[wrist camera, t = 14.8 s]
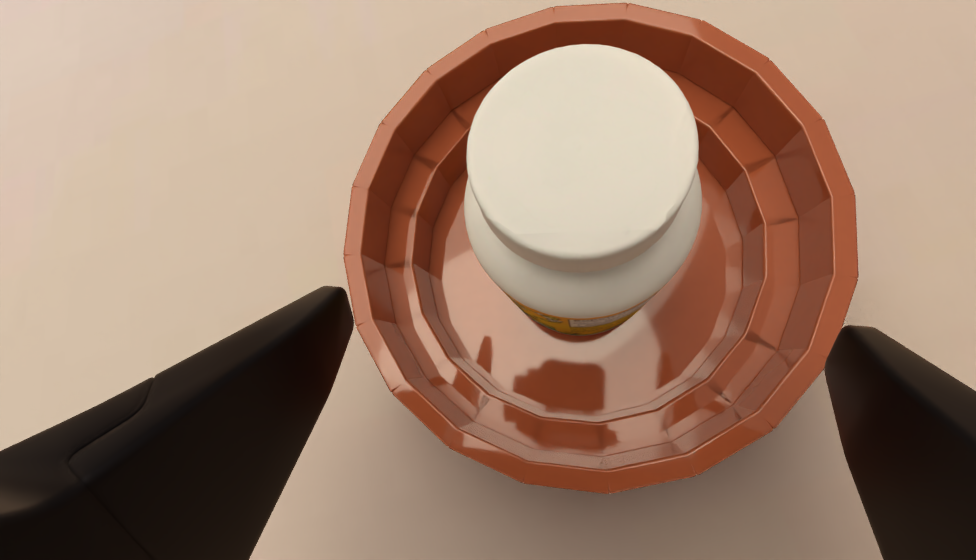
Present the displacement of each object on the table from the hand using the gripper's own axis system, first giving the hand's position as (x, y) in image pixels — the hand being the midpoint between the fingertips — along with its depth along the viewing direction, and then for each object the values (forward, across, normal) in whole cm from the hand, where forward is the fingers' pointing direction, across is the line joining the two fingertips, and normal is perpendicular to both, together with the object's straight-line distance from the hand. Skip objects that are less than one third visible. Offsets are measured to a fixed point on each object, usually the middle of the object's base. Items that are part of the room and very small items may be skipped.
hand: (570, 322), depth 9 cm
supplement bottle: (+8, 0, +4) cm, 9 cm away
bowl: (+9, 0, +4) cm, 10 cm away
